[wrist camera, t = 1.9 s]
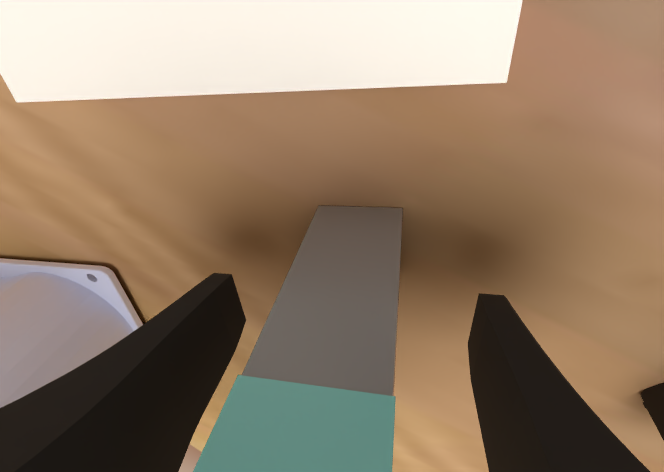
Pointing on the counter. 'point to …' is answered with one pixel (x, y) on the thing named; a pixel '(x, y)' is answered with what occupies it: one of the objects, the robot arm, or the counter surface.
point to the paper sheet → (248, 46)
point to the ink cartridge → (655, 405)
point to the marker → (321, 357)
